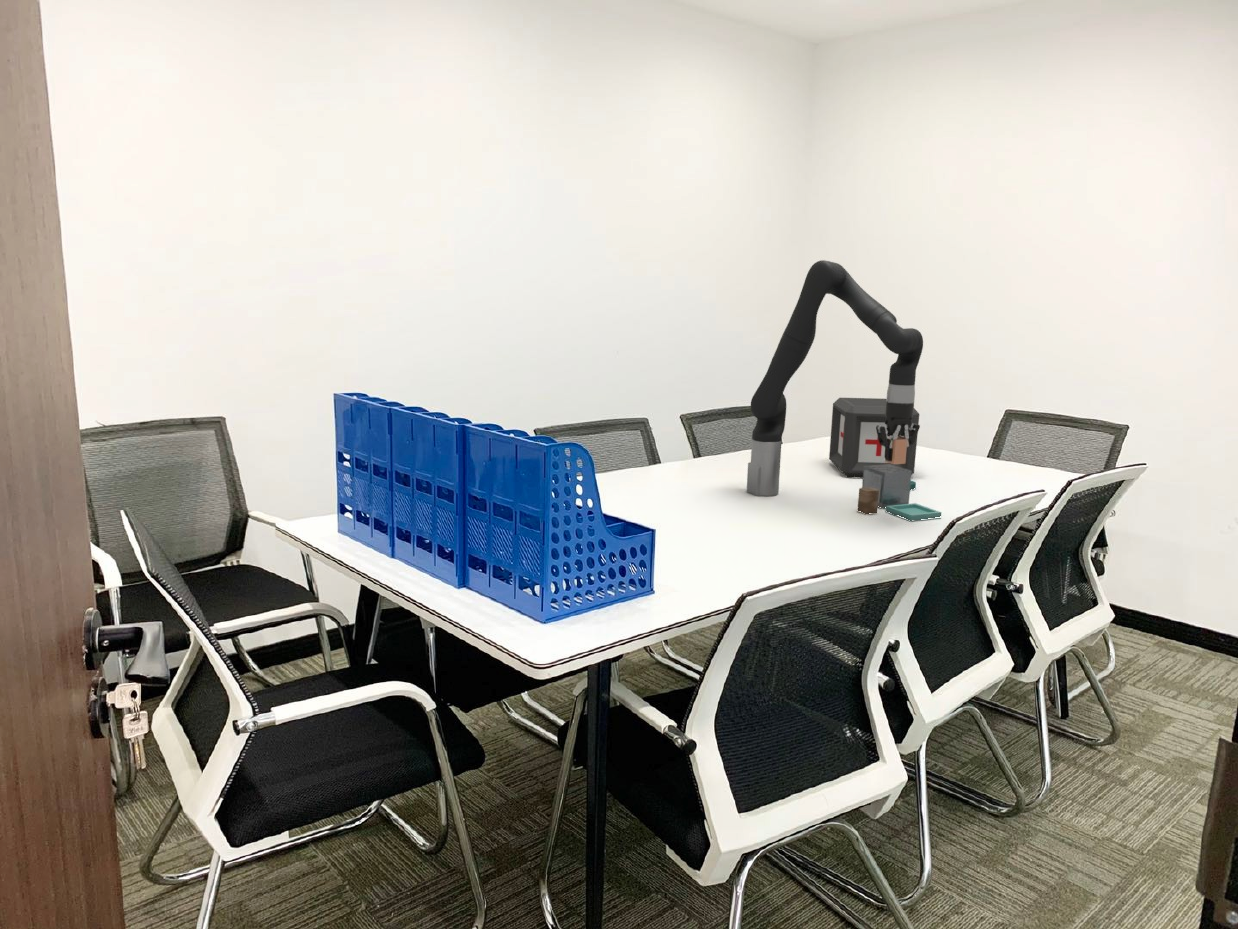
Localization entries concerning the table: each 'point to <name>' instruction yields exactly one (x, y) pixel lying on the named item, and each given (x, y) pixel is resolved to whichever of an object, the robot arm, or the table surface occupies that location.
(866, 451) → the first aid kit
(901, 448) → the terracotta block
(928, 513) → the teal tray
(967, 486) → the table surface
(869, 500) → the walnut block
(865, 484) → the grey unit
